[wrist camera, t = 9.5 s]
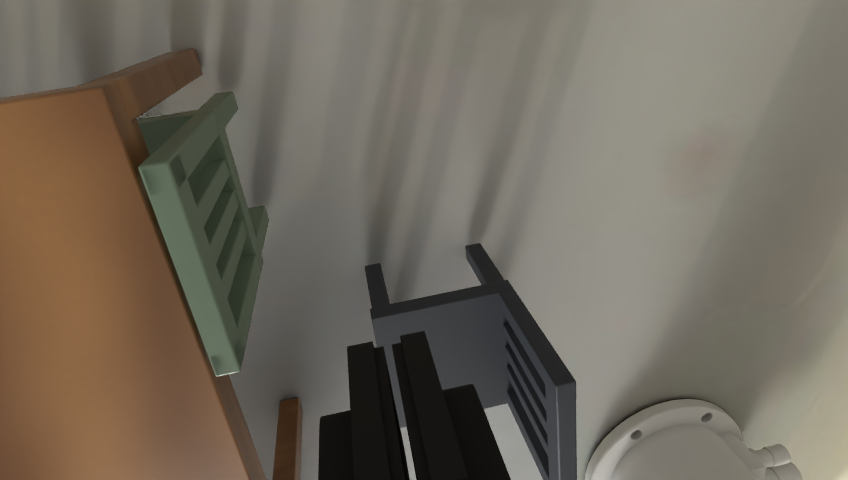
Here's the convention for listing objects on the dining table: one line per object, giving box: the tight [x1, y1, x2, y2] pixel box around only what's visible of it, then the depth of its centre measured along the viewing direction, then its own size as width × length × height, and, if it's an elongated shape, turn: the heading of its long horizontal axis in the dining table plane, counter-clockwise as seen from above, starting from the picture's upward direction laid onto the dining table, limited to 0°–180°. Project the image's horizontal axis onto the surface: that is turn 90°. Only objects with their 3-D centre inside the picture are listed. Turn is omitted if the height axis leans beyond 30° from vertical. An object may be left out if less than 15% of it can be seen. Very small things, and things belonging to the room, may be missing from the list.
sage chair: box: [137, 91, 269, 377], centre depth 21 cm, size 7×7×13 cm
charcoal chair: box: [365, 243, 577, 480], centre depth 27 cm, size 7×7×13 cm
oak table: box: [0, 48, 303, 480], centre depth 23 cm, size 14×22×12 cm, turn 7°
